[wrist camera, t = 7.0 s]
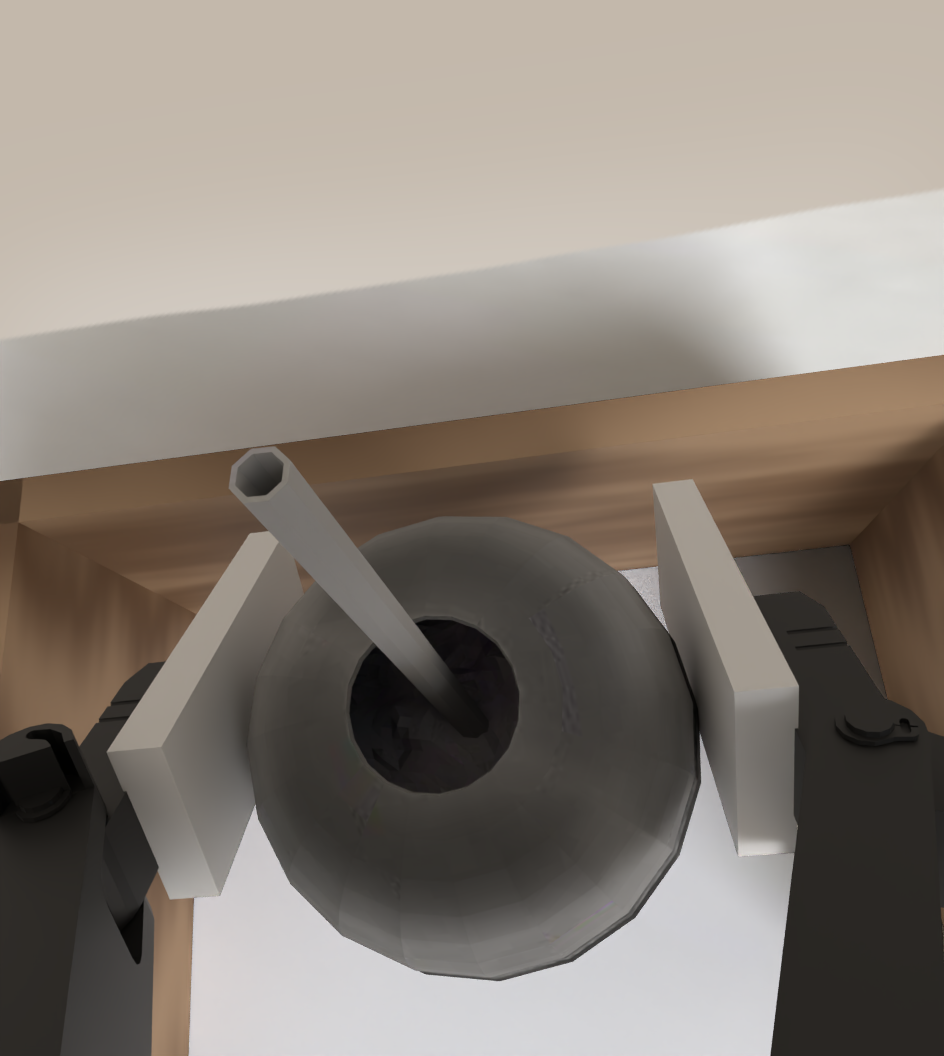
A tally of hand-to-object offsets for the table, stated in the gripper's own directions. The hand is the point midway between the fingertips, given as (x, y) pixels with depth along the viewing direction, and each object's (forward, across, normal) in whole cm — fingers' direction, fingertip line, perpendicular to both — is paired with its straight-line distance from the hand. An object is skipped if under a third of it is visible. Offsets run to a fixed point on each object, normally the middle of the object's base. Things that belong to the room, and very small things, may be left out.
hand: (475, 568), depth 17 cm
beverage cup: (+4, 0, -9) cm, 10 cm away
